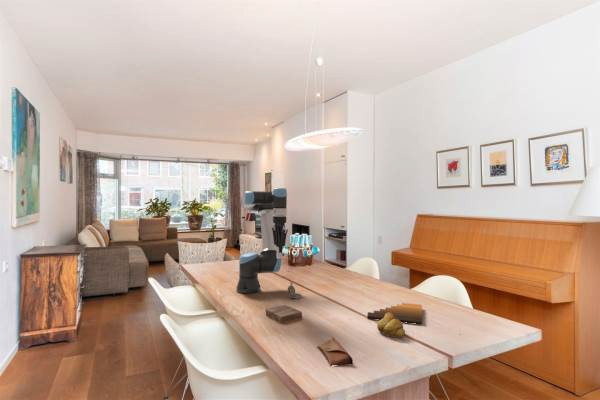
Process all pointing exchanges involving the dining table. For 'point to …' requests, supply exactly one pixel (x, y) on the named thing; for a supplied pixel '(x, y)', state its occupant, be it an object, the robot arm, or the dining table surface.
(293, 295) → the pocket watch
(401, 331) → the bread roll
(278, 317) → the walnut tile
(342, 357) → the sunglasses case
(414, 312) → the pan flute
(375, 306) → the dining table surface
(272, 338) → the dining table surface
